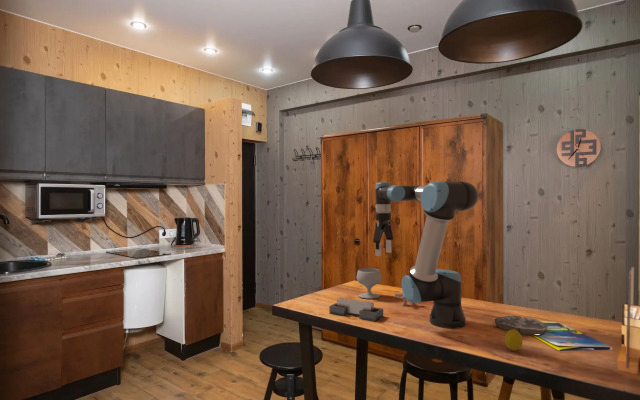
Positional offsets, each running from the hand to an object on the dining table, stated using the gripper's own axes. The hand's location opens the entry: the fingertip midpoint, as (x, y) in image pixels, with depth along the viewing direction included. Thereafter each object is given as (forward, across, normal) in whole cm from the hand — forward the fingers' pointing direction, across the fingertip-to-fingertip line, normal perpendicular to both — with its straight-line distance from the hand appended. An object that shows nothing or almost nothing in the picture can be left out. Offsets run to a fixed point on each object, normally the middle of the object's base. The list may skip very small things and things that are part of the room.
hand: (383, 254), depth 194 cm
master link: (+26, +20, -6) cm, 33 cm away
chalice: (+27, -14, -15) cm, 34 cm away
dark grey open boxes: (+27, +20, -6) cm, 34 cm away
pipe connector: (+27, -8, +8) cm, 29 cm away
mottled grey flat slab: (+27, +2, +62) cm, 68 cm away
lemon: (+27, +30, +62) cm, 74 cm away
